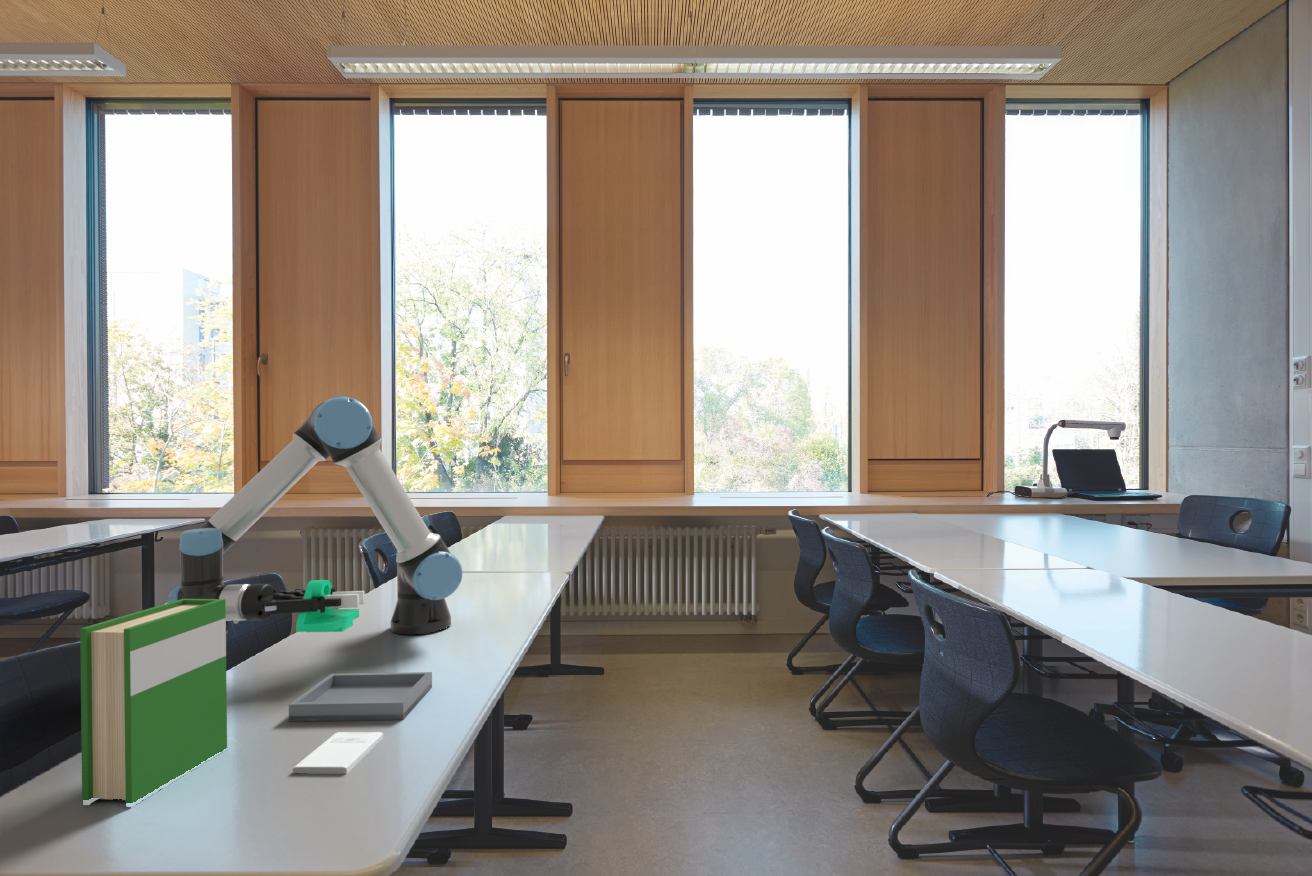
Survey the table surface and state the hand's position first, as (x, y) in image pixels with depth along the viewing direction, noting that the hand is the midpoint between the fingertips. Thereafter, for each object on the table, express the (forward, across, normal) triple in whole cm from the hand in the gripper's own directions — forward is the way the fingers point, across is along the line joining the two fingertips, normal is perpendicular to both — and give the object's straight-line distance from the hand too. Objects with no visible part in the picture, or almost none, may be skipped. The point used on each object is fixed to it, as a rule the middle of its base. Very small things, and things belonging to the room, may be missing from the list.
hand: (360, 599), depth 146 cm
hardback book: (-12, +44, -16) cm, 48 cm away
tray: (+7, +17, -16) cm, 24 cm away
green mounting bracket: (-7, 0, -6) cm, 9 cm away
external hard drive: (+12, +38, -16) cm, 43 cm away
